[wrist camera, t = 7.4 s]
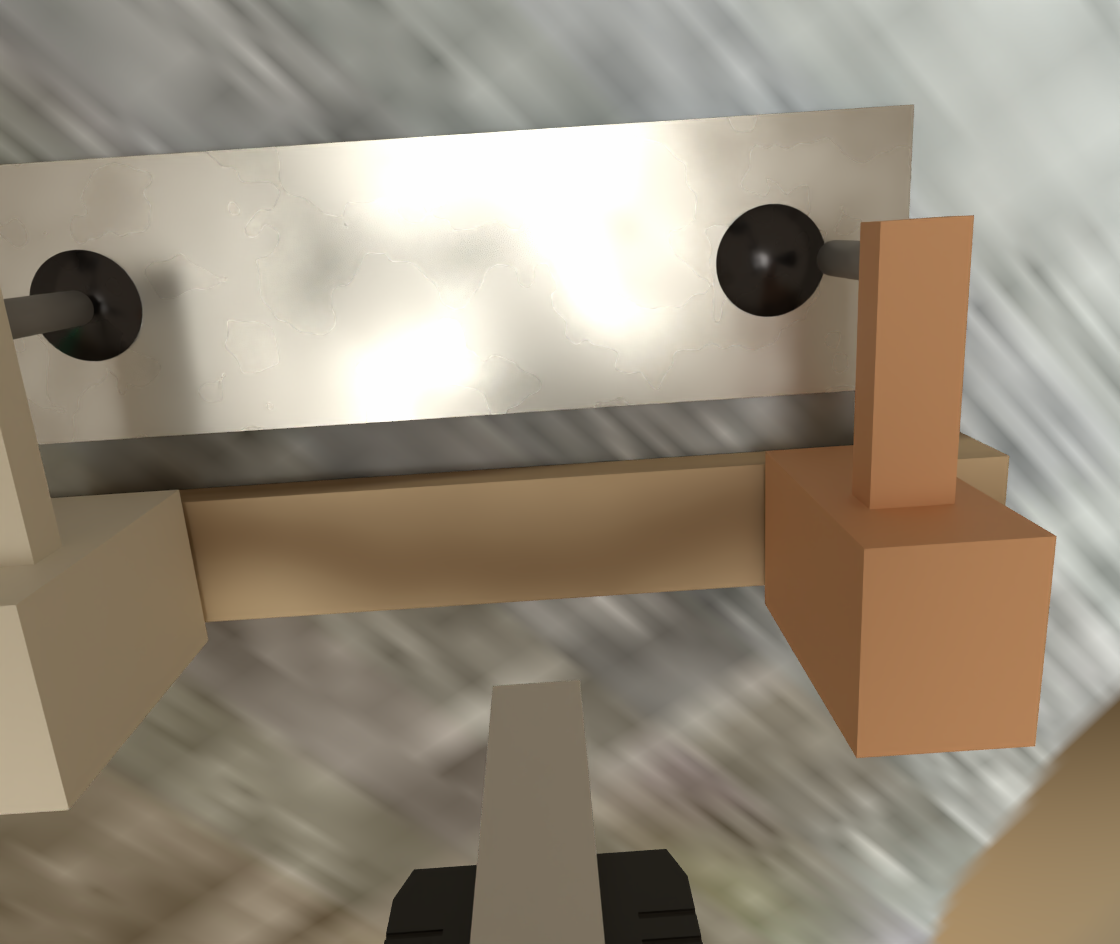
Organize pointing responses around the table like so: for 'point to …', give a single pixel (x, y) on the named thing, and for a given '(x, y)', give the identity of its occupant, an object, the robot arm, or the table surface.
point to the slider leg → (907, 526)
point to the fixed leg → (79, 598)
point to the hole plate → (448, 272)
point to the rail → (493, 534)
